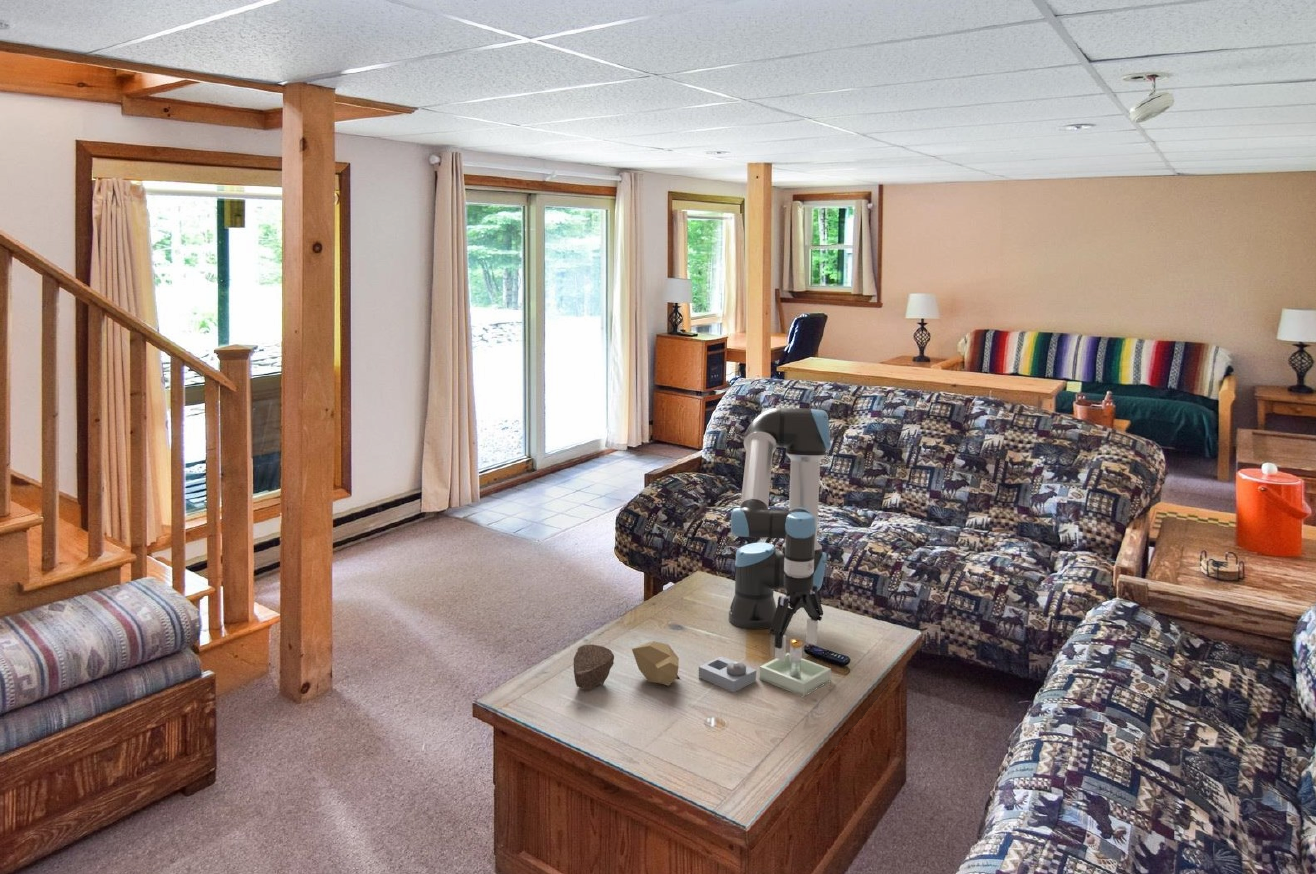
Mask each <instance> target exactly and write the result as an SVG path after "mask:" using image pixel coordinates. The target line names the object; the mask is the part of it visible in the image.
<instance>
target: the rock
mask: <svg viewBox="0 0 1316 874" xmlns="http://www.w3.org/2000/svg"><path fill="white" fill-rule="evenodd" d="M614 660H615V655H614V653H613V652H612V650H611V649H609V648H608V647H606V646H603V645H598V644H583V645H581V646H579V647H577V650H576V652H575V654H574V656H573V675H574V681H575V685H576V687H577V688H580V689H581V690H583V691H584V692H591V691H593V690H594V688H596V687H597V686H601V685H604V684H605V681H606V680H607V679H608V677H609V674H610V672H611V668H612V667H613V666H614V664H615V662H614Z"/></svg>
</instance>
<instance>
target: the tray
mask: <svg viewBox="0 0 1316 874" xmlns="http://www.w3.org/2000/svg"><path fill="white" fill-rule="evenodd" d="M789 668H790V652H785V660H784V661H782V660H780V659H777V658H774V659H772V660H770V661H768V662H766V663H764V664H761V666H759V680H761V681H764V682H766V683H769V684H771V685H773V686H776V687H778V688H780V689H783V690H785V691H788V692H791V693H793V694H795V693H796V695H798V696H800V697H802V696H804V697H805V695H806V696H807V695H809V694H811V693H812V691H813V692H815V691H816V690H817V689H816V688H818V689H820V688H822V687H823V686H824V685H823V684H825V683H827V682H828V683H830V682H831V678H832V675H831V674H832V669H831V668H829V667H827V666H824V665H821V664H820V663H816V662H813V661H812V660H808V659H806V658H804V657H803V658H802V657H801V679H799V680H798V679H795V678H793V677H790V676H789ZM829 681H830V682H829ZM828 683H827V684H828ZM822 685H823V686H822ZM825 685H826V684H825ZM819 687H820V688H819ZM815 689H816V690H815ZM810 692H811V693H810ZM808 693H809V694H808Z"/></svg>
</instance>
